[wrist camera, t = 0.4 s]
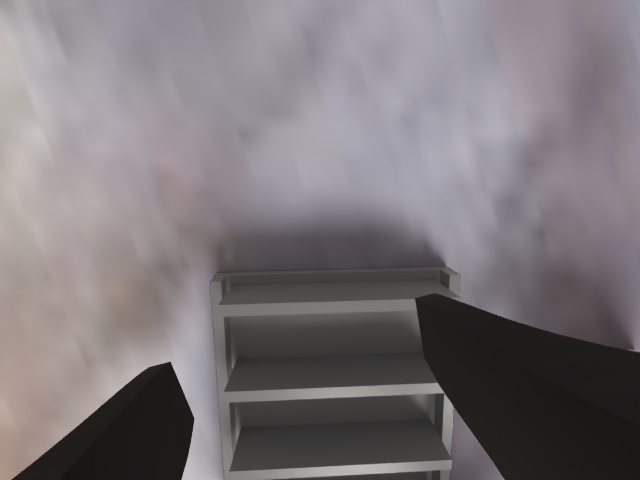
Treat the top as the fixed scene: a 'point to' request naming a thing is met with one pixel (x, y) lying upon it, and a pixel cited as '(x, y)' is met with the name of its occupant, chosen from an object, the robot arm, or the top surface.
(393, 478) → the dish rack
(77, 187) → the top surface
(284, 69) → the top surface
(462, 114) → the top surface
